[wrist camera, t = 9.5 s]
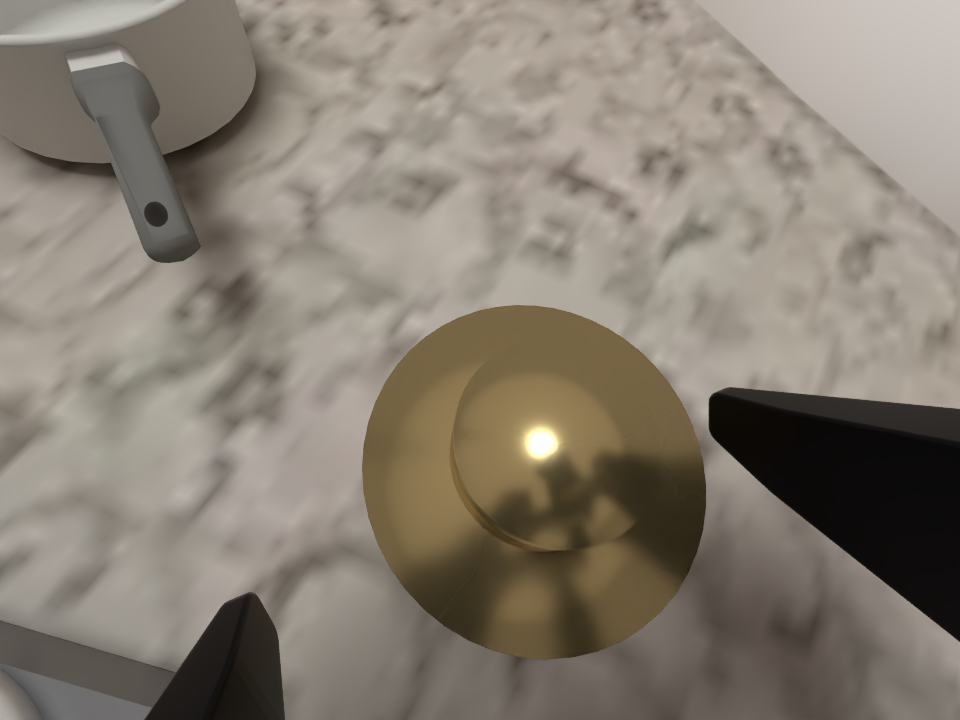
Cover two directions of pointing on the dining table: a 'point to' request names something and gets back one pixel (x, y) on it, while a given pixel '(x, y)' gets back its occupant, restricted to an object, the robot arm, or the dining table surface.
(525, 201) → the dining table surface
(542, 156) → the dining table surface
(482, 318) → the brass weight
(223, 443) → the dining table surface
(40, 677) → the kitchen scale
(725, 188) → the dining table surface
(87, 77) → the saucepan
